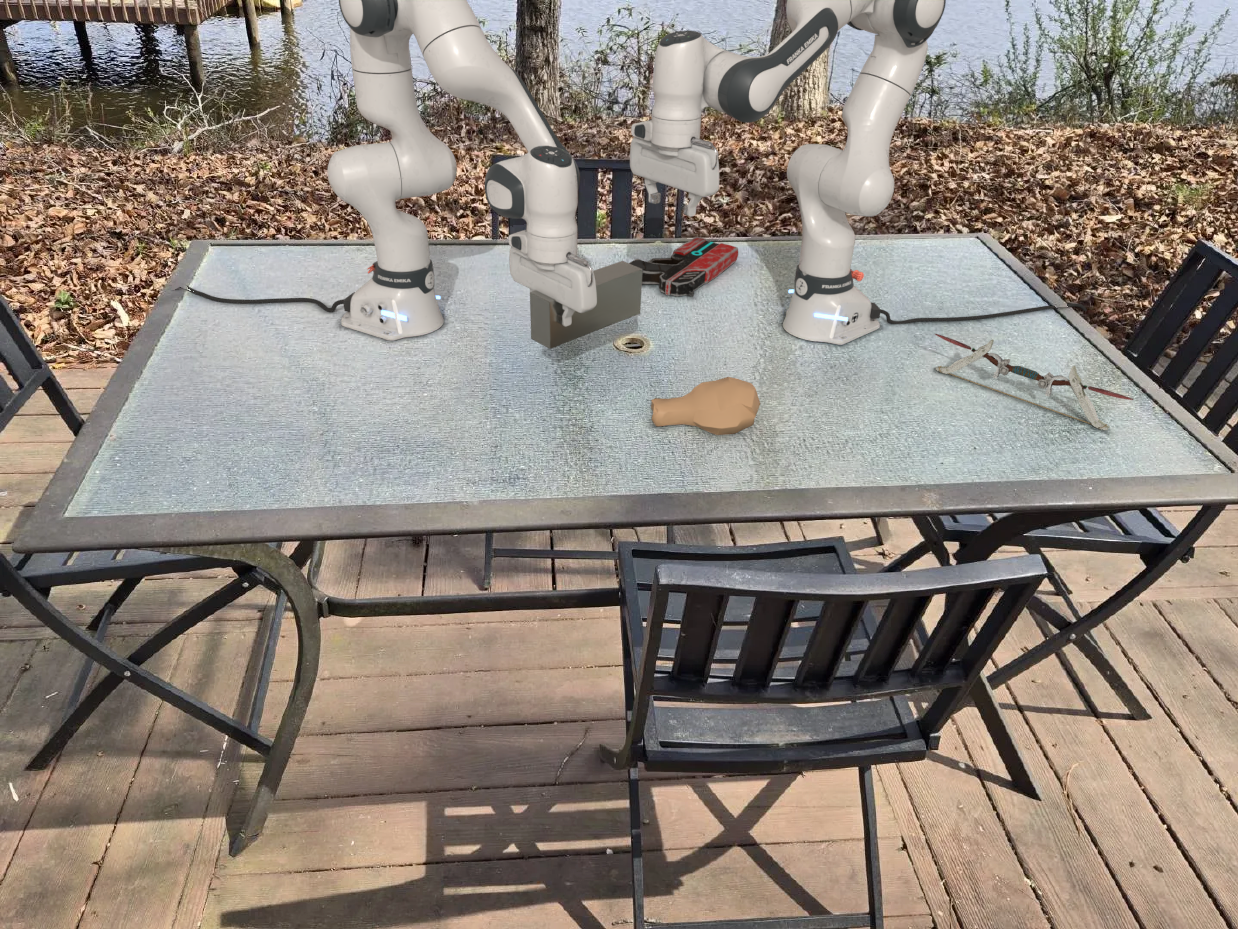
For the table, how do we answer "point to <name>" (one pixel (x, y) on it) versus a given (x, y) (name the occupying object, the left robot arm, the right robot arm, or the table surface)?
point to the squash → (711, 407)
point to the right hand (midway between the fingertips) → (671, 208)
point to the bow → (1043, 381)
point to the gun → (688, 266)
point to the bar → (614, 304)
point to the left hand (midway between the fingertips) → (552, 318)
